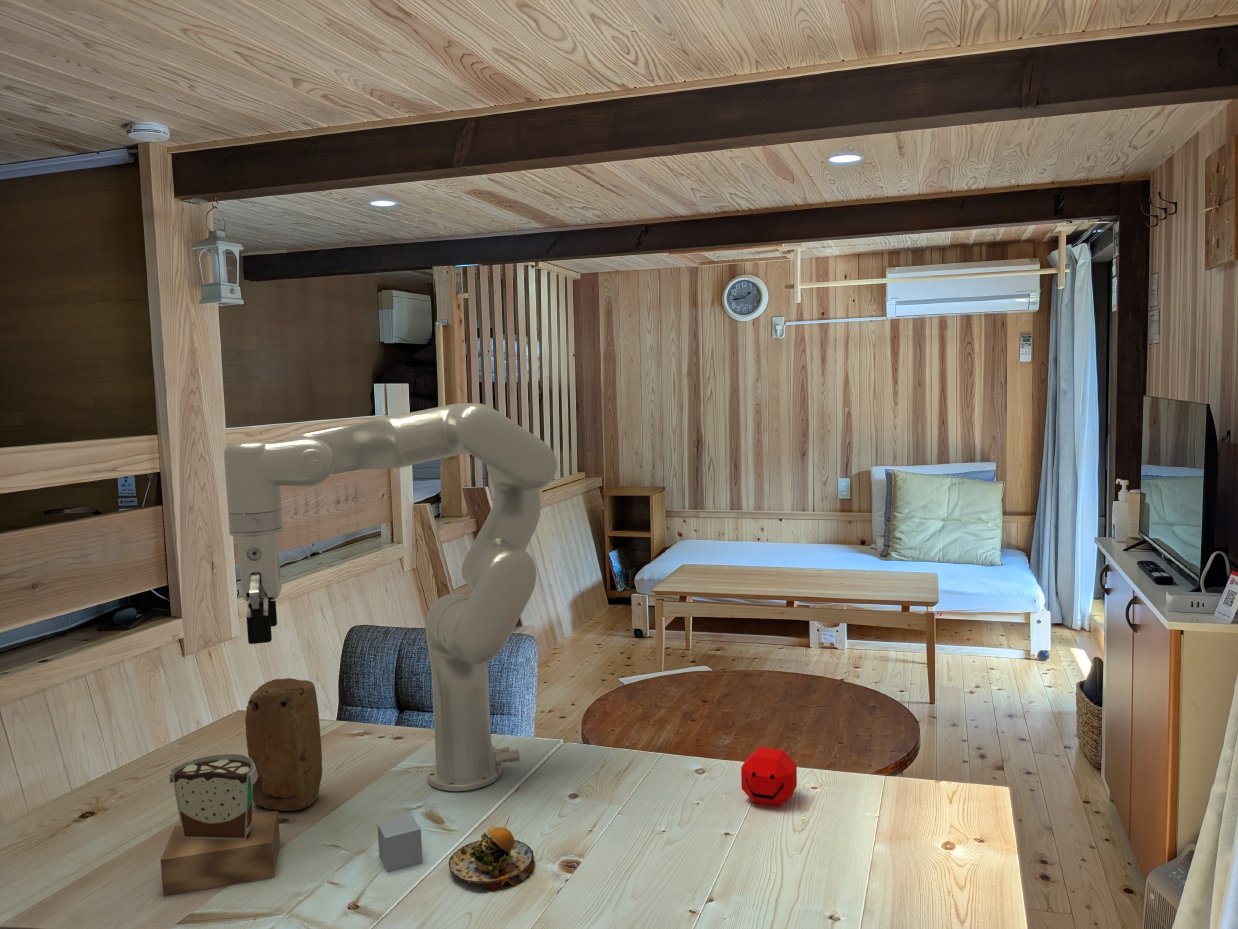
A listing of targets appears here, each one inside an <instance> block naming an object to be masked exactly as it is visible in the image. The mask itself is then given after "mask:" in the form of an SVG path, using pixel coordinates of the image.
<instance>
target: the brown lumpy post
mask: <svg viewBox="0 0 1238 929" xmlns="http://www.w3.org/2000/svg"><path fill="white" fill-rule="evenodd" d="M319 713H320V712H319V704H318V698H317V692H316V686H315V683H313V682H312V681H311V680H307V679H306V680H303V679H302V680H300V679H297V678H291V677H288V678H275V679H271V680H269V681H267V682H265V683H263V684H262V685H260V686H259V687H258V688H257V689H256V690H255V691H253V693H252V694H251V695H250V697H249V700H248V702H247V706H246V713H245V716H244V718H245V719H244V720H245V721H244V722H245V738H246V748H247V749H246V750H247V754H248V755H247V757H249V758H251V759H252V761H253V763H254V764H255V767H256V770H257V773H258V779H257V781H256V782H255V783H254V784H253V798H252V804H253V803H254V804H255V805H258V806H259V807H263V808H265V809H270V810H273V811H281V812H282V811H283V812H291V811H292V812H293V811H298V810H303V809H306V808H308V807H309V806H311V805H312V804H313V803H314V802H315V801H316V800H317V797H318V796H319V792H320V787H321V782H322V778H323V777H322V776H323V754H322V740H321V739H322V738H321V726H320V724H321V723H320V714H319Z"/></svg>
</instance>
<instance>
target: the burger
mask: <svg viewBox="0 0 1238 929" xmlns="http://www.w3.org/2000/svg"><path fill="white" fill-rule="evenodd" d="M509 818H510V817H508V819H507V822H506V823H505V826H504V827H503V826H491V827H490V828H488V829H487V830H486V832H483V833H482V835H481V836H480V837H481V839H480V840H476V841H473V842H469V843H468V844H465V845H464V846H462V847H460V848H458V849H457V850H456V851H455V852H453V854H452V855H451V856H450V858H449V860H448V867H449V871H450V872H451V873H452V874H453V875H456V876H457V877H458V878H460V879H462V880H464V881H467V882H468V883H472V884H482V885H484V889H485V891H486V892H492V893H495V892H497V891H500V890H501V891H503V886H504V884H505V882H508V883H509V884H511V885H512V886H518V885H520V883H521V882H523V883H524V882H525V880H526V878H527V876H529V875H530V873H533V872H534V870H535V857H534V850H532V848H531V847H530V845H528V844H526V842H525V843H524V842H523V841H519V840H517V839H515V837H514V835H513V834H512V831H510V829H507V824H508V822H509V820H510V819H509Z"/></svg>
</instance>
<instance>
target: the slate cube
mask: <svg viewBox="0 0 1238 929" xmlns="http://www.w3.org/2000/svg"><path fill="white" fill-rule="evenodd" d="M377 837H378V839H377V840H378V856H379V858H380V860H381V862H382V864H383V867H384V869H385V871H386V872H387V873H389V872H393V871H397V870H401V869H404V868H408V867H412V866H416V865H420V864H423V863H424V861H423V859H424V858H423V846H422V845H423V844H422V829H421V827H420V825H419V824H418V823H417V821H416V819H415V817H414V816H413V814H410V815H405V816H402V817H398V818H394V819H393V818H392V819H389V820H385V821H381V822H378V823H377Z"/></svg>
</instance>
